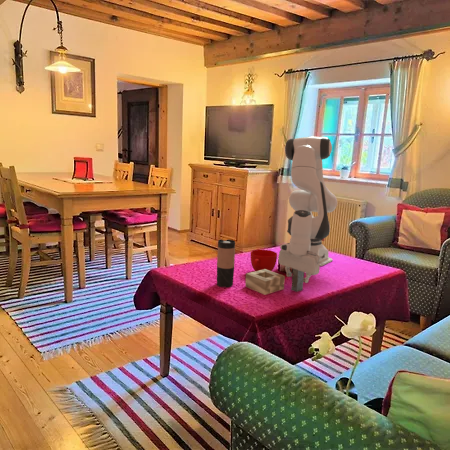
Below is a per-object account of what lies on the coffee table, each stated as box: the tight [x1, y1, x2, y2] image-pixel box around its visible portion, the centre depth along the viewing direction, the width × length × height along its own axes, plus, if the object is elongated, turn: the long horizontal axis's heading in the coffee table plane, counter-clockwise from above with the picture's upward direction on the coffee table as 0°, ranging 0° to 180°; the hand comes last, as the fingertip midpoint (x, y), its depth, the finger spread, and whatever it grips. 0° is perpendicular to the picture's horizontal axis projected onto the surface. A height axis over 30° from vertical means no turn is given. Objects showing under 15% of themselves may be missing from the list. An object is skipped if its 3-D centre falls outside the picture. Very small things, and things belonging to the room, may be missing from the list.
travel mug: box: [216, 238, 236, 288], centre depth 177 cm, size 8×8×20 cm
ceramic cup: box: [250, 249, 278, 272], centre depth 196 cm, size 13×17×10 cm
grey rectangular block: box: [290, 268, 305, 293], centre depth 175 cm, size 4×3×10 cm
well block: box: [245, 269, 286, 296], centre depth 177 cm, size 12×12×6 cm
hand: (297, 279), depth 175 cm, fingers open, 8 cm apart
